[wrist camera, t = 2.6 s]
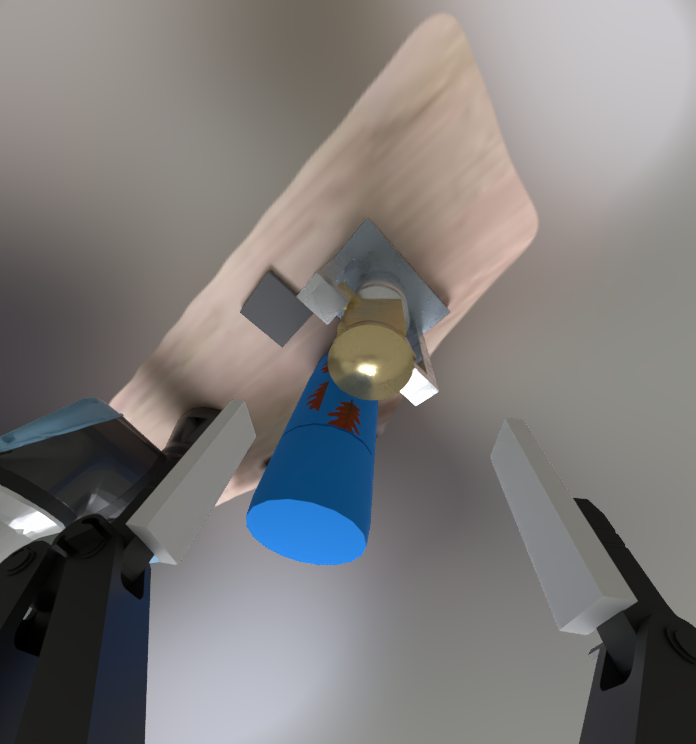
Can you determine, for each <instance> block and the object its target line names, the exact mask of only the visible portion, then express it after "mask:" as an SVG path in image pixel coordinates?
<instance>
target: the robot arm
mask: <svg viewBox="0 0 696 744" xmlns="http://www.w3.org/2000/svg"><path fill="white" fill-rule="evenodd" d="M123 416H124V415H123V414H120V413H118V412H117V411H115V410H114V409H113V408H112V407H110V406H109V405H108V404H107V403H105V402H104V401H102V400H100V399H98V398H85V399H81V400H79V401H77V402H75V403H72V404H70V405H68V406H66V407H64V408H61V409H59V410H57V411H55V412H53V413H50V414H48V415H46V416H44V417H42V418H40V419H37V420H35V421H33V422H31V423H29V424H27V425H24V426H23V427H20V428H18V429H16V430H14V431H12V432H9V433H7V434H5V435H3V436H1V437H0V744H145V720H146V691H147V663H148V635H149V634H148V633H149V607H150V578H151V568H150V563H155V562H163V563H169V564H174V565H179V564H180V562H181V561H182V559H183V557H184V556H185V554H186V552H187V551H188V549H189V547H190V546H191V544H192V542H193V541H194V539H195V537H196V535H197V534H198V532H199V530H200V529H201V527H202V526H203V524H204V522H205V521H206V519H207V517H208V516H209V514H210V512H211V511H212V509H213V508H214V506H215V504H216V503H217V501H218V499H219V498H220V496H221V494H222V493H223V491H224V489H225V488H226V486H227V484H228V483H229V481H230V479H231V478H232V476H233V474H234V473H235V471H236V469H237V468H238V466H239V464H240V463H241V461H242V460H243V459H244V457H245V455H246V454H247V452H248V450H249V448H250V446H251V445H252V443H253V441H254V440H255V438H256V434H255V431H254V428H253V425H252V422H251V419H250V415H249V412H248V409H247V406H246V403H245V400H231V401H230V402H229V403H228V404H227V406H226V407H225V408H224V409H223V410H222V412H220V411H218V410H215V409H210V408H195V409H191V410H189V411H188V412H186V413H185V414H184V415H183V416H182V417H181V418H180V419H179V420H178V422H177V423H176V426H175V428H174V430H173V432H172V434H171V436H170V438H169V440H168V443H167V445H166V447H165V448H164V449H163V450H162V451H160V449H158V448H157V447H156V446H155V445H154V444H153V443H152V442H150V441H149V440H148V439H147V438H146V437H145V436H144V435H143V434H141V433H140V432H139V431H138V430H137V429H136V428H135V427H134V426H133V425H132V424H131V423H129V422H128V421H127V420H126V419H125V418H124V417H123ZM490 458H491V461H492V464H493V466H494V469H495V471H496V474H497V476H498V479H499V481H500V483H501V486H502V489H503V491H504V493H505V496H506V498H507V501H508V503H509V506H510V509H511V511H512V514H513V516H514V519H515V521H516V524H517V526H518V529H519V531H520V534H521V536H522V539H523V541H524V544H525V546H526V549H527V551H528V554H529V556H530V559H531V561H532V563H533V566H534V569H535V571H536V573H537V576H538V579H539V581H540V584H541V586H542V589H543V591H544V594H545V596H546V598H547V601H548V604H549V606H550V609H551V611H552V614H553V616H554V619H555V621H556V624H557V626H558V629H559V630H560V631H565V632H571V633H577V634H583V635H588V634H589V633H591V632H592V631H594V630H595V629H597V631H598V633H599V635H600V637H601V639H602V641H603V643H601V644H600V645H598V646H596V647H595V648H593V649H591V651H590V652H589V654H588V656H589V657H590V658H592V659H594V658H595V657H597V656H598V659H597V663H596V668H595V673H594V677H593V682H592V687H591V691H590V696H589V700H588V705H587V710H586V714H585V719H584V723H583V728H582V733H581V737H580V742H579V744H696V628H695V627H694V626H693V625H691V624H690V623H689V622H687V621H685V620H683V619H681V618H679V617H678V616H676V614H675V613H674V612H673V611H672V610H671V609H670V607H669V606H668V605H667V604H666V602H665V601H664V599H663V598H662V597H661V595H660V594H659V592H658V591H657V590H656V588H655V587H654V585H653V584H652V582H651V581H650V579H649V578H648V577H647V575H646V574H645V572H644V571H643V569H642V568H641V567H640V565H639V564H638V562H637V561H636V560H635V558H634V557H633V555H632V554H631V552H630V551H629V549H628V548H626V547H625V544H624V542H623V541H622V539H621V538H620V537H619V535H618V534H616V533H615V529H614V528H613V527H612V525H611V524H610V522H609V521H608V519H607V518H606V517H605V515H604V514H603V513H602V512H601V511H600V510H599V509H598V508H596V507H595V506H594V505H593V504H592V503H591V502H590V501H589V500H587V499H579V498H572V496H571V494H570V493H569V491H568V490H567V488H566V487H565V485H564V483H563V482H562V480H561V479H560V477H559V476H558V474H557V472H556V471H555V469H554V468H553V466H552V464H551V463H550V461H549V460H548V458H547V456H546V455H545V453H544V452H543V450H542V449H541V447H540V445H539V444H538V442H537V441H536V439H535V437H534V436H533V434H532V433H531V431H530V430H529V428H528V426H527V425H526V423H525V422H524V420H523V419H516V418H505V419H504V422H503V425H502V427H501V430H500V432H499V435H498V438H497V440H496V443H495V446H494V448H493V451H492V453H491V456H490ZM77 518H78V520H76V519H77ZM74 520H76V521H74ZM73 521H74V522H73ZM72 522H73V523H72ZM59 532H61V533H60V534H59V535H58V536H57V537H56V538H55V540H54V541H53V543H52V545H50V544H49V543H47V542H45V541H35V542H32V543H30V542H31V541H33V540H35V539H37V538H40V537H43V536H47V535H51V534H55V533H59ZM29 543H30V544H29ZM29 607H31V608H33V609H32V611H31V612H30V614H29V615H28V616H27V618H26V619H25V620H23V618H24V616H25V614H26V612H27V611H28V609H29Z"/></svg>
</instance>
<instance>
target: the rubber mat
mask: <svg viewBox="0 0 696 744" xmlns="http://www.w3.org/2000/svg"><path fill="white" fill-rule="evenodd" d="M240 313H241V314H242V315H244V316H245V317H246V318H247V319H249V320H250V321H251V322H252V323H253V324H255V325H256V326H257V327H258V328H259V329H261V330H262V331H263V332H264V333H265V334H267V335H268V336H269V337H270V338H271V339H273V340H274V341H275V342H276V343H278V344H279V345H280V346H281V347H283V346H284V345H285V344H286V343H287V342H288V341H289V340H290V338H291V337H292V336H293V335H294V334H295V333H296V332H297V331H298V330H299V328H300V327H301V326H302V325H303V324H304V323H305V322H306V321H307V320H308V318H309V317H310V316H311V315H312V314H313V312H312V311H311V310H310V309H309V308H308V307H307V306H306V305H305V304H304V303H302V302H301V301H300V300H299V299H298V298H297V294H296V293H295V292H294V291H293V290H292V289H291V288H290V287H289V286H288V285H287V284H285V283H284V282H283V281H282V280H281V279H280V278H279V277H278V276H277V275H276V274H275V273H273V272H272V271H271V270H270V271H268V272H267V274H266V275H265V277H264V278H263V279H262V281H261V282H260V284H259V285H258V287H257V288H256V289H255V291H254V292H253V294H252V295H251V297H250V298H249V299H248V301H247V302H246V304H245V305H244V307H243V308H242V309H241V311H240Z"/></svg>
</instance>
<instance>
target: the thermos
mask: <svg viewBox="0 0 696 744" xmlns="http://www.w3.org/2000/svg"><path fill="white" fill-rule="evenodd" d="M328 354H329V353H328ZM328 354H327V355H325V356H324V357H323V358H322V359H321V361H320V362H319V364H318V365H317V367H316V369H315V370H314V372H313V374H312V375H311V377H310V379H309V381H308V383H307V385H306V387H305V389H304V391H303V394H302V396H301V398H300V400H299V402H298V404H297V406H296V408H295V410H294V412H293V414H292V416H291V418H290V420H289V422H288V425H287V427H286V429H285V431H284V433H283V435H282V437H281V439H280V441H279V444H278V445H277V447H276V449H275V451H274V454H273V456H272V458H271V460H270V462H269V464H268V466H267V468H266V470H265V472H264V474H263V476H262V478H261V480H260V482H259V485H258V487H257V489H256V491H255V493H254V495H253V498H252V501H251V504H250V506H249V509H248V512H247V515H246V520H247V528H248V529H249V531H250V532H251V534H252V535H253V537H254V538H255V539H256V540H258V541H259V542H260V543H262V544H263V545H264V546H265V547H266V548H268V549H270V550H272V551H274V552H276V553H278V554H280V555H282V556H284V557H287V558H290V559H294V560H296V561H299V562H306V563H311V564H316V565H338V564H342V563H347V562H351V561H353V560H355V559H356V558H358V557H360V556H361V555H362V554H363V552H364V550H365V548H366V545H367V540H368V535H369V529H370V522H371V507H372V490H373V474H374V458H375V442H376V426H377V410H378V400H363V399H359V398H356V397H353V396H351V395H349V394H347V393H345V392H344V391H343V390H341V389H340V388H339V387H338V386H337V385H336V383H335V382H334V381H333V379H332V377H331V375H330V373H329V370H328Z"/></svg>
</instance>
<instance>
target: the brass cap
mask: <svg viewBox="0 0 696 744" xmlns="http://www.w3.org/2000/svg"><path fill="white" fill-rule="evenodd" d="M337 286H338V287H339V288H340V289H341V290H342V291H343V292H344V293H345V294H346V295H347V296H348V297H349V298H350V301H349V303H348V304H347V305H346V306H345V307H344V308H343V309H344V310H345V312H344V315H343V317H342V319H341V321H340V323H339V326H338V328H337V336H336V338H335V339H334V341H333V344H332V346H331V348H330V350H329V354H328V370H329V373H330V375H331V377H332V379H333V381H334V382H335V383H336V385H337V386H338V387H339V388H340V389H341V390H343V391H344V392H345V393H347V394H349V395H351V396H353V397H356V398H359V399H363V400H381V399H385V398H388V397H391V396H393V395H395V394H397V393H398V392H400V391H401V390H402V389H403V388H404V387H405V386H406V385H407V383H408V382H409V380H410V378H411V376H412V373H413V369H414V360H416V359H417V358H416V353H415V352H414V351H413V350H412V349H411V346H410V344H409V341H408V340H407V338H406V337H405V336H406V327H405V319H404V312H403V305H402V299H361V298H360V297H359V296H358V295H357V294H356V293H355V292H354V291H353V290H352V289H351V288H350V287H349V286H348V285H347V284H346V283H345V282H344V281H343V280H341V281H340V283H339V284H338V285H337Z"/></svg>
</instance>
